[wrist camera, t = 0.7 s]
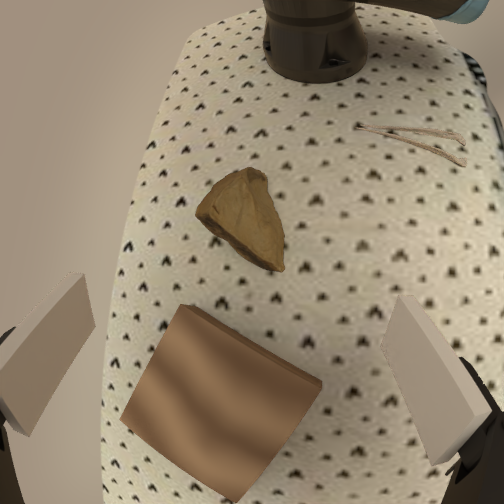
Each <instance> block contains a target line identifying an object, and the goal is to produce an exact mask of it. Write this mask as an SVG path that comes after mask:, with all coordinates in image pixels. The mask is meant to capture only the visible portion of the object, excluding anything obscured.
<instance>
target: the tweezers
mask: <svg viewBox="0 0 504 504" xmlns="http://www.w3.org/2000/svg"><path fill="white" fill-rule="evenodd" d="M362 126H367V127H372V128H378V129H392V130H400V131H409V132H416V133H419V134H423V135H429V136H435V137H441V138H447V139H453V140H457V141H458V142H460V143H461V144H462V145H464V146H465V144H466V143H465V140H464V138H463V137H462V136H461V134H458V133H453V132H446V131H442V130H437V129H428V128H411V127H392V126H375V125H362ZM355 128H357V127H355ZM358 129H362V130H366V131H370V132H374V133H378V134H382V135H385V136H389V137H392V138H395V139H398V140H401V141H404V142H407V143H410V144H413V145H416V146H419V147H422V148H424V149H427V150H430V151H432V152H434V153H436V154H438V155H441V156H443V157H445V158H447V159H449V160H451V161H453V162H455V163H457V164H459V165H461V166H464V167H466V165H467V158H466V157H465V158H460V159H457V158H456V156H454V155H452V154H450V153H448V152H445V151H443V150H441V149H438V148H435V147H433V146H430V145H427V144H424V143H421V142H418V141H415V140H412V139H409V138H405V137H402V136H398V135H394V134H389V133H386V132H381V131H376V130H370V129H364V128H358ZM437 133H438V134H437ZM444 133H448V135H444Z"/></svg>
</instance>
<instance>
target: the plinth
mask: <svg viewBox="0 0 504 504" xmlns="http://www.w3.org/2000/svg"><path fill="white" fill-rule="evenodd" d="M321 389H322V381H321V380H319V379H317V378H316V377H314V376H312V375H310V374H308V373H306V372H305V371H303V370H301V369H299V368H297V367H296V366H294V365H292V364H290V363H289V362H287V361H285V360H283V359H281V358H280V357H278V356H276V355H275V354H273V353H271V352H269V351H268V350H266V349H264V348H263V347H261V346H259V345H258V344H256V343H254V342H252V341H251V340H249V339H247V338H246V337H244V336H243V335H241V334H239V333H238V332H236V331H234V330H233V329H231V328H230V327H228V326H226V325H225V324H223V323H222V322H220V321H218V320H217V319H215V318H214V317H212V316H210V315H209V314H207V313H206V312H204V311H203V310H201V309H200V308H198V307H195V306H190V305H184V304H180V306H179V308H178V309H177V311H176V313H175V315H174V317H173V319H172V320H171V322H170V324H169V326H168V328H167V330H166V331H165V333H164V335H163V337H162V339H161V341H160V343H159V344H158V346H157V348H156V350H155V352H154V354H153V356H152V357H151V359H150V361H149V363H148V365H147V367H146V369H145V371H144V373H143V375H142V377H141V378H140V380H139V382H138V384H137V386H136V388H135V390H134V392H133V394H132V396H131V398H130V400H129V402H128V404H127V406H126V408H125V410H124V412H123V414H122V416H121V418H120V421H122V422H123V423H124V424H125V425H126V426H127V427H128V428H130V429H131V430H132V431H133V432H134V433H135V434H137V435H138V436H139V437H140V438H141V439H143V440H144V441H145V442H146V443H148V444H149V445H150V446H151V447H153V448H154V449H155V450H156V451H158V452H159V453H160V454H162V455H163V456H164V457H166V458H167V459H168V460H170V461H171V462H172V463H174V464H175V465H177V466H178V467H179V468H181V469H182V470H184V471H185V472H187V473H188V474H189V475H191V476H192V477H194V478H195V479H197V480H198V481H200V482H202V483H203V484H205V485H206V486H208V487H209V488H211V489H213V490H214V491H216V492H218V493H219V494H221V495H223V496H224V497H226V498H228V499H229V500H231V501H233V502H235V503H237V502H238V501H239V500H240V499H241V498H242V496H243V495H244V494H245V493H246V492H247V491H248V489H249V488H250V487H251V486H252V485H253V483H254V482H255V481H256V480H257V479H258V477H259V476H260V475H261V474H262V472H263V471H264V470H265V469H266V467H267V466H268V465H269V463H270V462H271V461H272V460H273V458H274V457H275V456H276V454H277V453H278V452H279V450H280V449H281V448H282V446H283V445H284V444H285V442H286V441H287V439H288V438H289V437H290V435H291V434H292V432H293V431H294V430H295V428H296V427H297V425H298V424H299V422H300V421H301V420H302V418H303V417H304V415H305V414H306V412H307V411H308V409H309V408H310V406H311V405H312V403H313V402H314V400H315V399H316V397H317V395H318V394H319V392H320V391H321Z"/></svg>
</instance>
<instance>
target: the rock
mask: <svg viewBox="0 0 504 504" xmlns="http://www.w3.org/2000/svg"><path fill="white" fill-rule="evenodd" d="M195 216H196V217H197V218H198V219H199V220H200V221H201V223H202V224H203V225H204V226H205V227H206V228H207V229H208V230H209V231H211V232H212V233H213V234H214V235H216V236H218V237H220V238H223V239H224V240H226V241H228V242H229V244H230V245H231V246H232V247H233V248H234V249H235V250H236V251H237V253H238V254H240V255H241V256H243V257H244V258H245V259H246V260H248V261H250V262H251V263H253V264H255V265H257V266H259V267H261V268H263V269H266V270H270V271H279V272H283V271H284V270H285V266H284V264H283V248H284V237H285V235H284V232H283V229H282V225H281V220H280V218H279V216H278V213H277V212H276V211H275V208H274V206H273V201H272V199H271V197H270V195H269V194H268V192H267V177H266V175H265V173H262V172H261V171H260V170H256V169H254V168H252V167H247V168H245V169H243V170H241V171H239V172H236V173H231V174H228V175H227V176H225V178H223V179H222V180H220V181H219V182H217V183H216V184H214V185H213V187H212V189H211V191H210V192H209V193H208V194H207V195H206V196H205V198H204V199H203V201H202V202H201V203H200V204H199V206H198V207H197V210H196V214H195Z"/></svg>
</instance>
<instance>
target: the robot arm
mask: <svg viewBox="0 0 504 504" xmlns="http://www.w3.org/2000/svg"><path fill="white" fill-rule="evenodd" d="M355 2H357V3H365V4H371V5H378V6H384V7H389V8H395V9H400V10H404V11H409V12H413V13H417V14H421V15H425V16H429V17H431V18H433V19H438V20H446V21H450V22H454V23H458V24H467V23H470V22H473V21H474V20H476V19H477V18H478V17H479V16H480V15H481V14H482V13H483V11H484V10H485V8H486V6H487V4H488V2H489V0H263V3H264V6H265V10H266V14H267V18H266V25H265V31H264V38H263V50H264V54H265V57H266V60H267V62H268V64H269V66H270V67H271V68H272V69H273V70H274V71H276V72H277V73H279V74H280V75H282V76H284V77H287V78H289V79H293V80H296V81H301V82H309V83H326V82H333V81H338V80H342V79H345V78H347V77H350V76H352V75H353V74H355V73H356V72H358V71H359V70H360V69H361V68H362V67H363V66H364V64H365V62H366V59H367V40H366V37H365V34H364V32H363V29H362V27H361V24H360V22H359V19H358V17H357V15H356V12H355ZM95 327H96V326H95V322H94V318H93V314H92V309H91V305H90V300H89V295H88V290H87V285H86V280H85V275H84V274H82V273H73V272H70V273H69V274H68V275H66V277H64V278H63V279H62V280H61V281H60V282H59V283H58V284H57V285H56V286H55V287H54V288H53V289H52V290H51V291H50V292H49V293H48V294H47V295H46V296H45V297H44V298H43V299H42V301H40V302H39V303H38V304H37V306H36V307H35V308H34V309H33V310H32V311H31V312H30V313H29V314H28V315H27V316H26V317H25V318H24V319H23V320H22V321H21V323H20V324H19V325H18V326H17V327H13V328H12V329H10V330H8V331H7V332H5V333H4V334H3V335H2V336H1V338H0V504H25V503H24V500H23V497H22V494H21V491H20V487H19V484H18V480H17V477H16V473H15V469H14V465H13V461H12V457H11V452H10V447H9V442H8V437H7V432H6V429H5V427H4V426H3V424H4V422H5V421H6V420H7V421H8V423H9V424H10V425H11V427H12V428H13V429H14V430H15V431H17V432H19V433H21V434H23V435H26V436H28V437H30V435H31V433H32V431H33V429H34V427H35V426H36V424H37V422H38V420H39V418H40V416H41V415H42V413H43V411H44V409H45V407H46V406H47V404H48V402H49V400H50V399H51V397H52V395H53V393H54V392H55V390H56V389H57V387H58V385H59V383H60V382H61V380H62V378H63V377H64V375H65V374H66V372H67V370H68V369H69V367H70V365H71V364H72V362H73V361H74V359H75V357H76V356H77V354H78V353H79V351H80V349H81V348H82V346H83V345H84V343H85V342H86V340H87V339H88V337H89V336H90V334H91V333H92V331H93V330H94V328H95ZM381 348H382V350H383V353H384V355H385V357H386V359H387V361H388V363H389V365H390V368H391V370H392V372H393V374H394V376H395V379H396V381H397V383H398V385H399V388H400V390H401V392H402V394H403V397H404V399H405V401H406V404H407V406H408V408H409V411H410V413H411V415H412V418H413V420H414V423H415V425H416V428H417V430H418V433H419V435H420V438H421V440H422V443H423V445H424V448H425V450H426V453H427V456H428V458H429V461H430V464H431V466H435V465H438V464H441V463H444V462H448V461H449V460H450V459H451V458H452V457H453V456H454V455H455V454H456V453H457V452H458V453H459V455H460V457H461V458H460V459H459V460H458V461H457V462H456V463H455V464H454V465H453V466H452V467H451V468H450V469H449V470H448V471H447V472H446V474H445V475H446V476H447V475H449V474H450V473H451V472H452V471H453V470H454V471H453V474H452V476H451V479H450V482H449V485H448V487H447V490H446V492H445V495H444V497H443V500H442V502H441V504H504V412H502V411H501V410H500V408H499V406H498V405H497V403H496V402H495V400H494V398H493V397H492V395H491V394H490V392H489V390H488V389H487V387H486V386H485V384H483V381H482V380H481V378H480V377H478V374H477V372H476V371H475V369H474V368H473V366H472V365H471V364H470V363H469V362H468V361H466V360H465V359H464V358H463V357H458V356H457V355H456V353H455V352H454V350H453V349H452V347H451V346H450V345H449V343H448V342H447V340H446V339H445V337H444V336H443V335H442V333H441V332H440V331H439V329H438V328H437V326H436V325H435V324H434V322H433V321H432V320H431V318H430V317H429V316H428V314H427V313H426V312H425V310H424V309H423V308H422V306H421V305H420V304H419V302H418V301H417V300H416V299H415V297H414V296H412V295H398V298H397V301H396V304H395V307H394V310H393V313H392V316H391V319H390V322H389V325H388V328H387V330H386V333H385V336H384V338H383V341H382V344H381Z"/></svg>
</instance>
